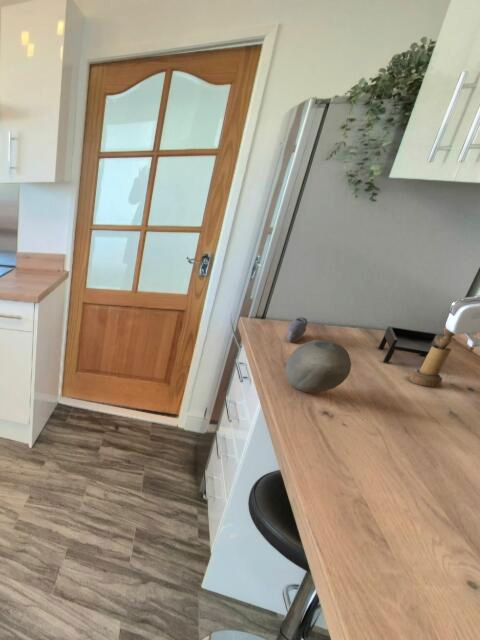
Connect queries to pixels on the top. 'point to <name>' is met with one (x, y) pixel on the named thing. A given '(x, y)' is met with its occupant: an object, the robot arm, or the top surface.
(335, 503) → the top surface
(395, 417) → the top surface
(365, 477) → the top surface
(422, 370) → the mortar and pestle
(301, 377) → the cantaloupe
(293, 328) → the perforated stone tool
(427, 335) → the tray
